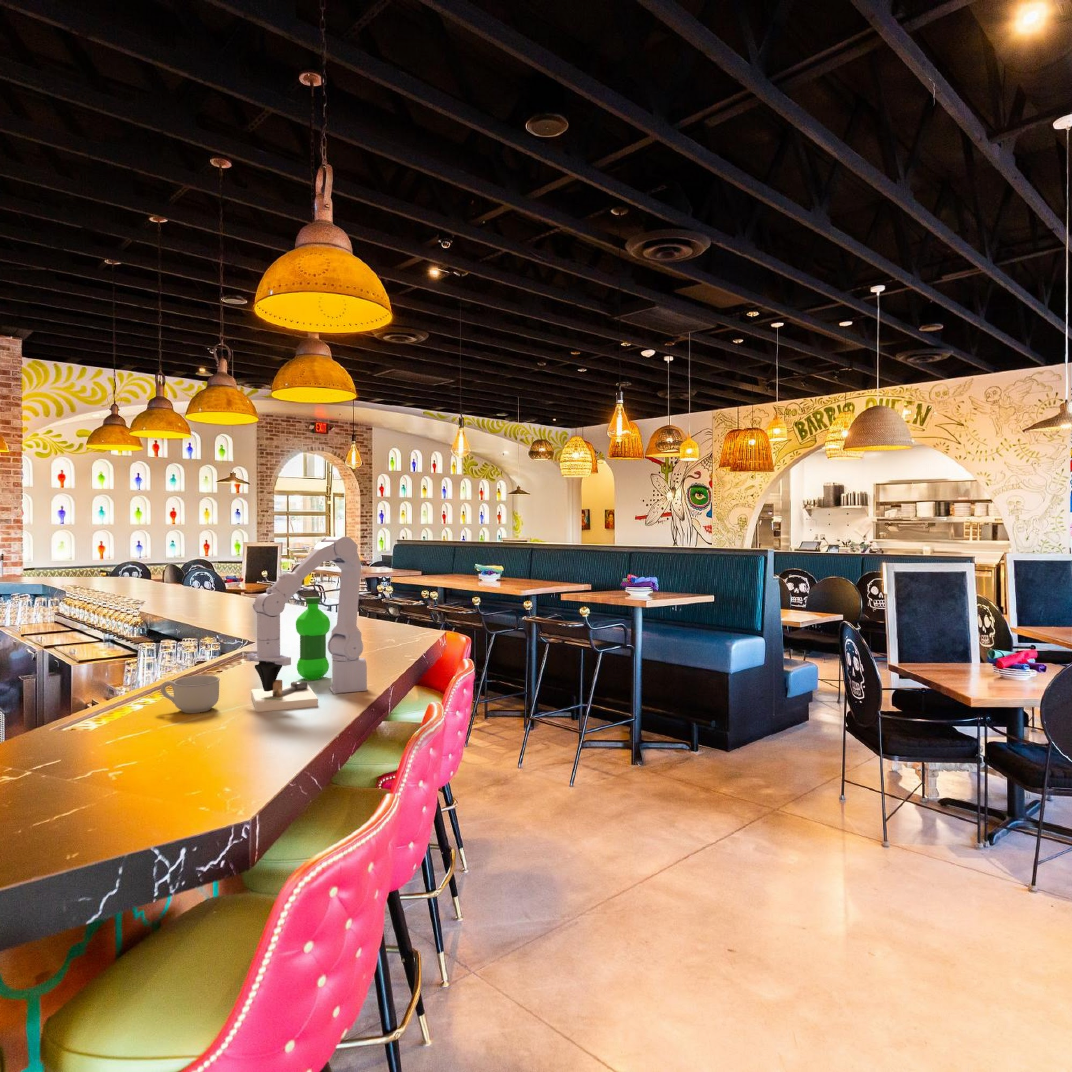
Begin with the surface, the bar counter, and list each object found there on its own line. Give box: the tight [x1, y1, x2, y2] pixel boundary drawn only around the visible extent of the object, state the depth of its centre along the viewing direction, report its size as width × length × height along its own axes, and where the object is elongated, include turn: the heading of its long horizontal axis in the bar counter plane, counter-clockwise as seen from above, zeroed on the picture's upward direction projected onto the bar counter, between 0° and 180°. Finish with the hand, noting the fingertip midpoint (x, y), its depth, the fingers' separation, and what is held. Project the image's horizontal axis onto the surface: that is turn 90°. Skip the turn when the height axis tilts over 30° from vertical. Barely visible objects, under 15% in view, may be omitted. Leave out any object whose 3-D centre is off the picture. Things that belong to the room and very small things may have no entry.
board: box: [250, 684, 319, 713], centre depth 195 cm, size 15×19×2 cm
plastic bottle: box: [295, 596, 331, 681], centre depth 227 cm, size 10×10×25 cm
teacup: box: [160, 674, 221, 714], centre depth 185 cm, size 14×11×8 cm
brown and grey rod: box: [271, 679, 309, 698], centre depth 196 cm, size 15×4×4 cm, turn 165°
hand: (268, 690), depth 193 cm, fingers closed
